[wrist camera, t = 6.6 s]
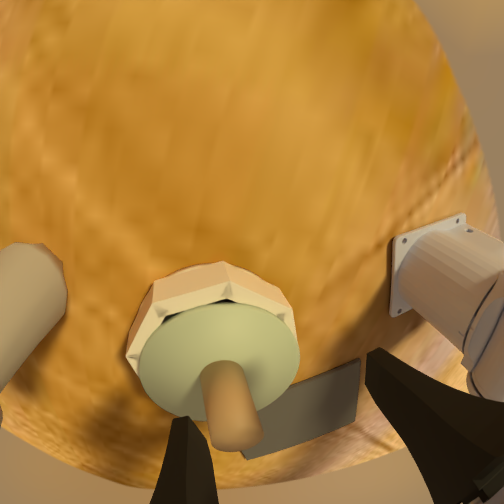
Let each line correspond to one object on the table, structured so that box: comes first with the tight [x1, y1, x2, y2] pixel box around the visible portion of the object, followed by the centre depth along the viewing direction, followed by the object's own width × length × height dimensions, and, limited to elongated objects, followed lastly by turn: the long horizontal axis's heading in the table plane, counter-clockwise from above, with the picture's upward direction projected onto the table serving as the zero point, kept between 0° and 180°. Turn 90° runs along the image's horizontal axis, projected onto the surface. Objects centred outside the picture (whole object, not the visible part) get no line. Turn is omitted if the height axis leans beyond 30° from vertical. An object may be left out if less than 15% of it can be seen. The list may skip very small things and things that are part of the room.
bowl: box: [126, 261, 298, 378], centre depth 19 cm, size 11×11×3 cm
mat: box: [242, 358, 361, 460], centre depth 28 cm, size 14×12×1 cm
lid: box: [139, 302, 300, 452], centre depth 16 cm, size 10×10×6 cm
